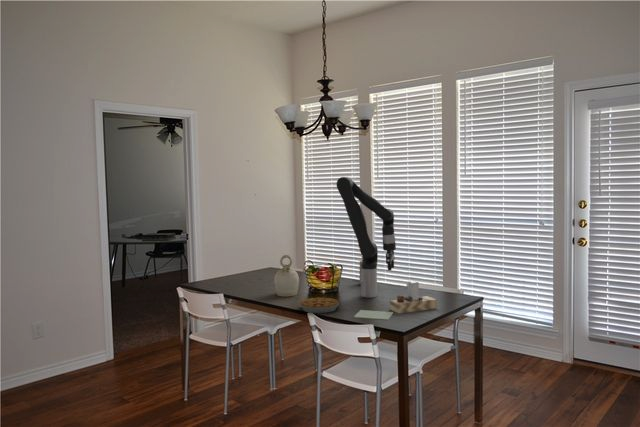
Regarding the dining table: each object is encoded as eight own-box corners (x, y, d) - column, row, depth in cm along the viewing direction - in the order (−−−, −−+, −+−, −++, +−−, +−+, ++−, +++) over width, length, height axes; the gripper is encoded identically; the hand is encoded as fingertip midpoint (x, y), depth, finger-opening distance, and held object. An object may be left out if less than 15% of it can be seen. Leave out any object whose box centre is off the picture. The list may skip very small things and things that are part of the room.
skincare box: (362, 285, 340) (362, 262, 339) (359, 283, 347) (358, 260, 346) (374, 284, 343) (374, 261, 342) (370, 282, 349) (370, 259, 348)
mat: (353, 317, 261) (353, 316, 261) (360, 310, 275) (360, 310, 275) (388, 319, 256) (388, 319, 256) (393, 312, 269) (393, 312, 269)
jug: (295, 297, 308) (295, 257, 307) (271, 297, 311) (270, 256, 310) (301, 292, 323) (301, 253, 322) (278, 291, 326) (277, 253, 325)
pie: (337, 303, 292) (337, 295, 292) (340, 313, 270) (340, 304, 270) (300, 304, 291) (299, 296, 291) (299, 314, 270) (299, 305, 269)
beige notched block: (398, 313, 268) (398, 298, 267) (390, 309, 276) (389, 295, 275) (436, 308, 277) (436, 293, 276) (427, 304, 285) (427, 290, 285)
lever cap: (412, 301, 273) (412, 282, 273) (407, 299, 277) (407, 281, 277) (418, 300, 275) (418, 282, 274) (414, 298, 279) (414, 280, 278)
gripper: (385, 241, 311) (387, 267, 311) (380, 243, 297) (382, 271, 298) (397, 240, 308) (399, 266, 309) (393, 243, 295) (395, 270, 295)
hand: (391, 269), depth 303 cm, fingers open, 8 cm apart
